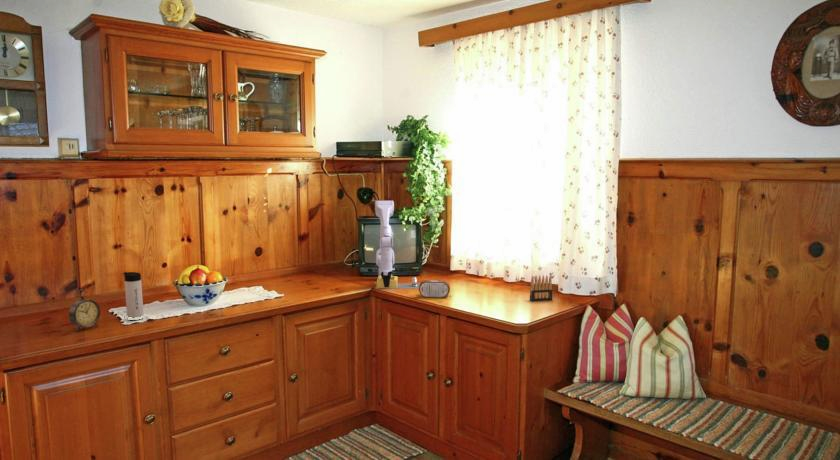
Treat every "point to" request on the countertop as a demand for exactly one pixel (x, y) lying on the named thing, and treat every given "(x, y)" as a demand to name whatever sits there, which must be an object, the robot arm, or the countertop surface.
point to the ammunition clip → (541, 289)
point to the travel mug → (133, 294)
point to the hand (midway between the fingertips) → (386, 286)
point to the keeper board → (402, 286)
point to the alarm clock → (84, 312)
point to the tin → (434, 288)
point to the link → (392, 283)
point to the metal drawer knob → (414, 282)
